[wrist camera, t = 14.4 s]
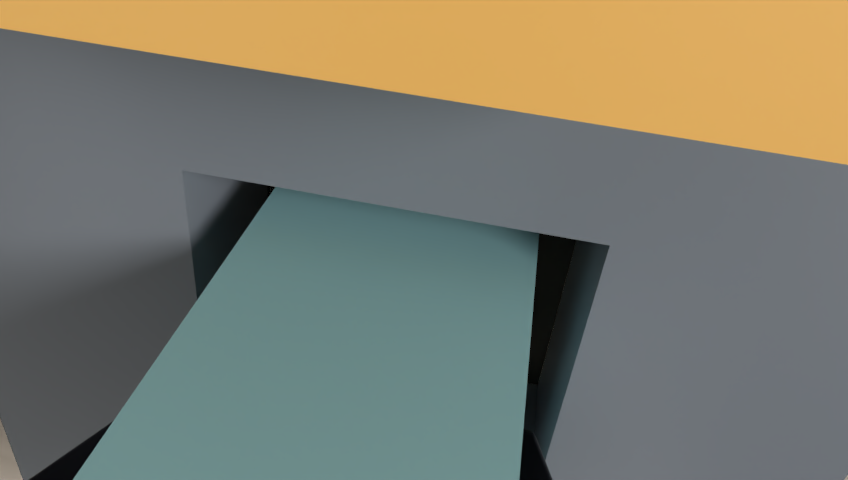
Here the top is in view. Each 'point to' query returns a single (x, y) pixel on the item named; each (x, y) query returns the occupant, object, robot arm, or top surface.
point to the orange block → (524, 56)
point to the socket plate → (439, 195)
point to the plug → (341, 354)
